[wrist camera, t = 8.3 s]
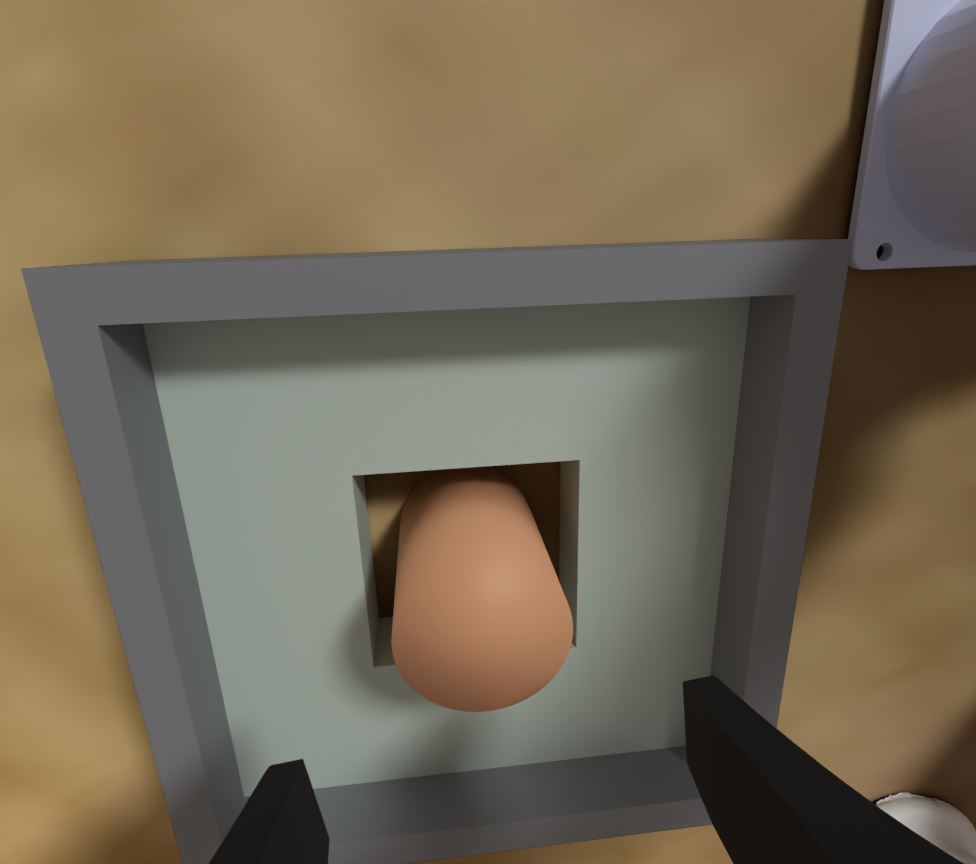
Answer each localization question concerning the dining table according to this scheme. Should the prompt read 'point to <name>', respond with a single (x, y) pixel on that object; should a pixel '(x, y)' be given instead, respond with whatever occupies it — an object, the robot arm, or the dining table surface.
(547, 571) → the peg
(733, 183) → the dining table surface
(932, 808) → the cherub figurine
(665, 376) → the box
